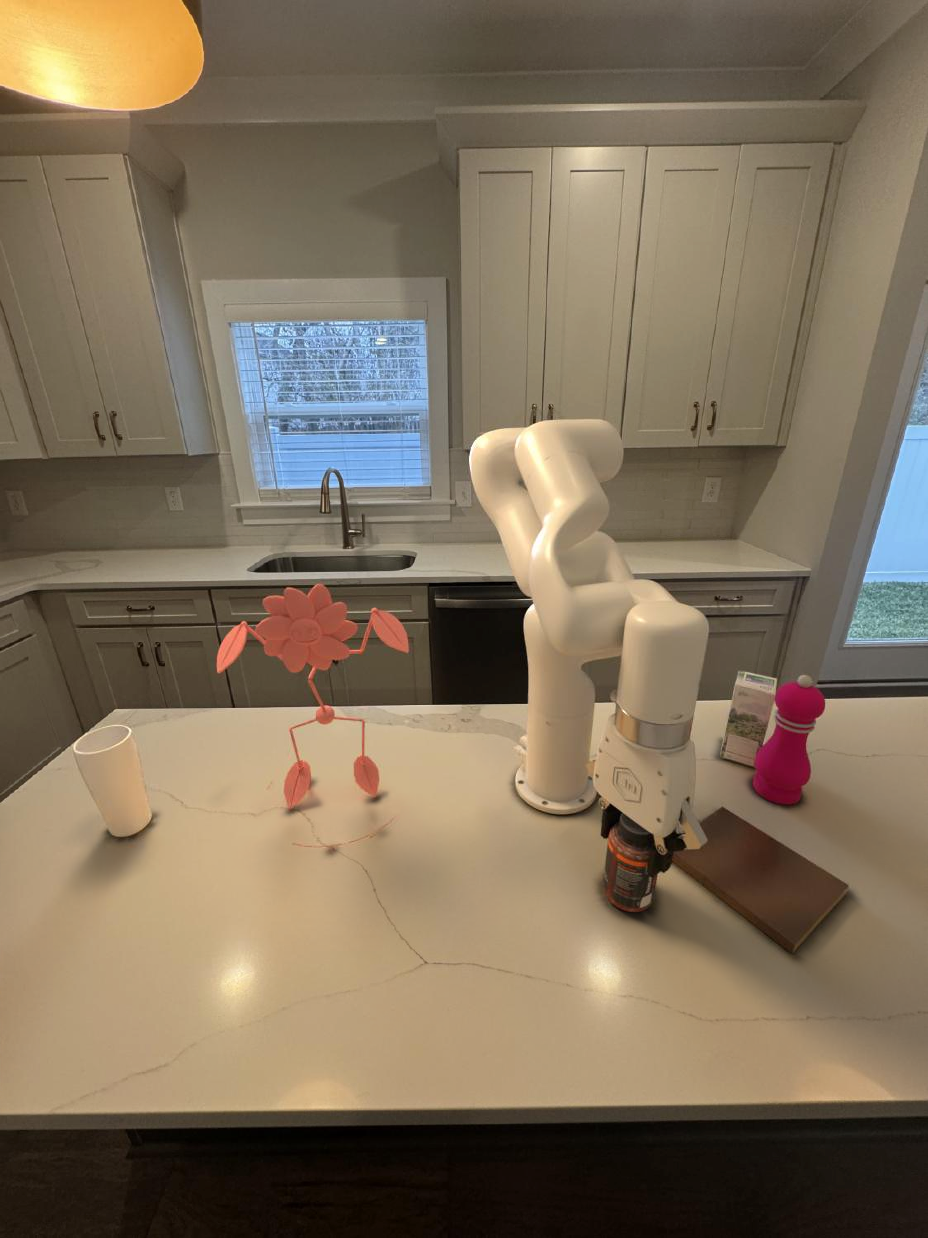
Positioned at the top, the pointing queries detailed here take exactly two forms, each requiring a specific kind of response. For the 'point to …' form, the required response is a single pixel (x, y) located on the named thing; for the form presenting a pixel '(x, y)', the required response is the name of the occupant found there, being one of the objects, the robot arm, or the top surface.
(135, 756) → the drinking glass
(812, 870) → the cutting board
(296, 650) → the figurine
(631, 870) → the supplement bottle
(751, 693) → the syrup box
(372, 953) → the top surface
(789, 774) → the pepper mill
